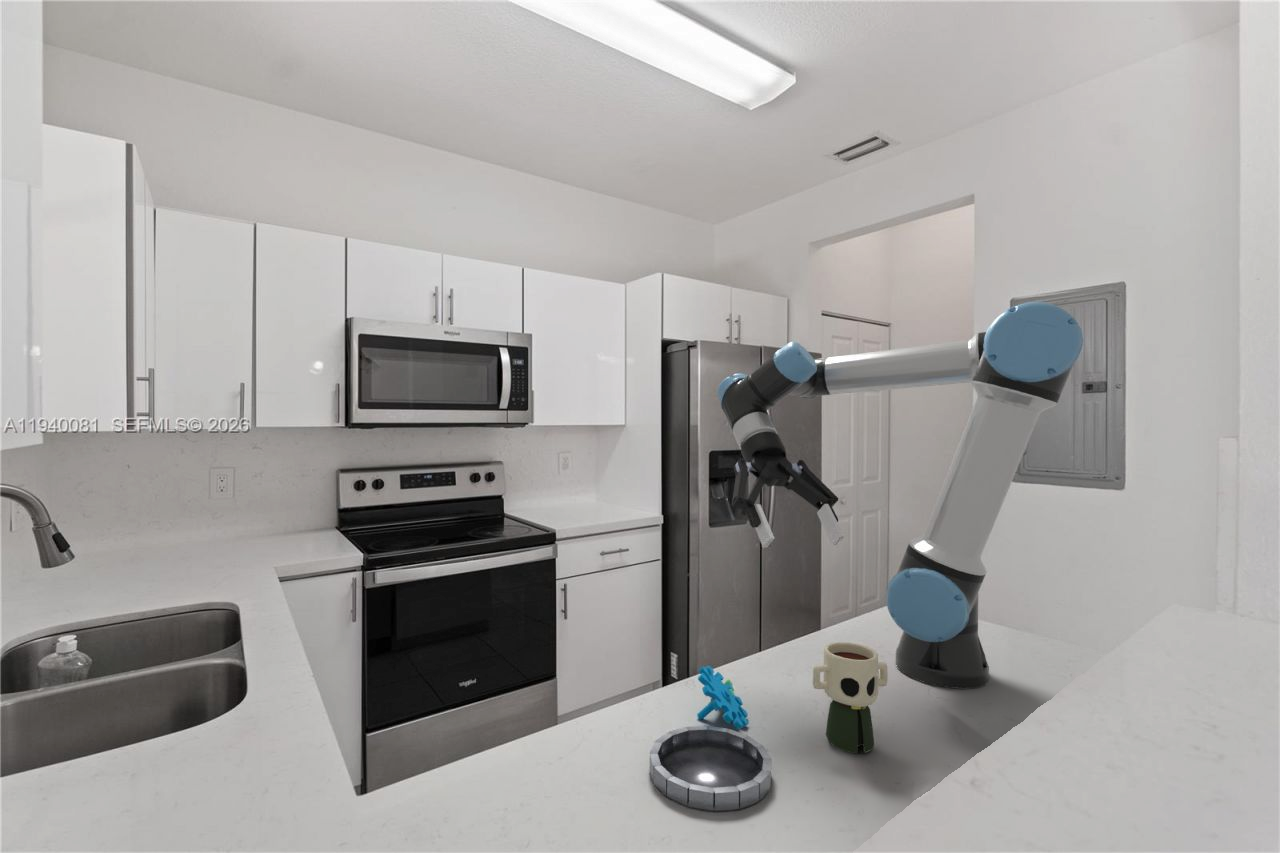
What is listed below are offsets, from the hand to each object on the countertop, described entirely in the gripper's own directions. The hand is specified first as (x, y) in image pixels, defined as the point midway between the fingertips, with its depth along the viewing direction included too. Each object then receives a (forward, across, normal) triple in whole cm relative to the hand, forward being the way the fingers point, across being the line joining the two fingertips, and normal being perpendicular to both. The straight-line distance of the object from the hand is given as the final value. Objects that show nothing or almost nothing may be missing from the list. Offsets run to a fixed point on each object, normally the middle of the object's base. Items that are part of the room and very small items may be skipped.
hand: (804, 542), depth 96 cm
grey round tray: (+28, +23, -8) cm, 37 cm away
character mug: (+28, +2, -7) cm, 29 cm away
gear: (+20, +15, -16) cm, 30 cm away
